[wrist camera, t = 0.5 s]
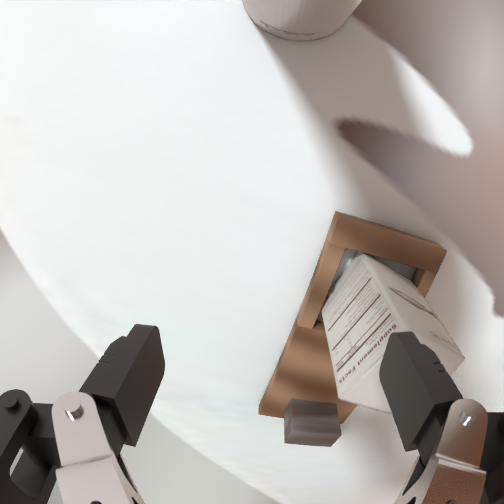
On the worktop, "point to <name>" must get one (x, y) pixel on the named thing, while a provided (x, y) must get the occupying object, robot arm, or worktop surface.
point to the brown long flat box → (314, 335)
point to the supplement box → (376, 328)
